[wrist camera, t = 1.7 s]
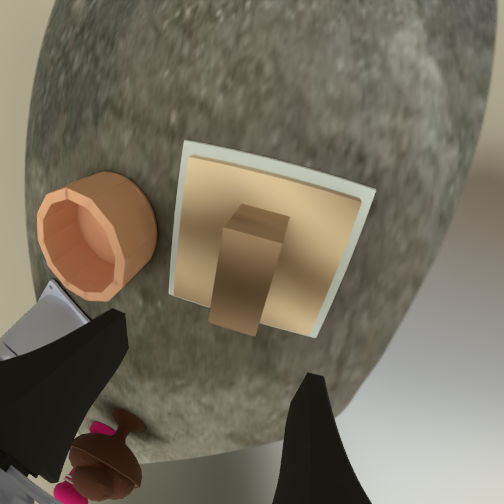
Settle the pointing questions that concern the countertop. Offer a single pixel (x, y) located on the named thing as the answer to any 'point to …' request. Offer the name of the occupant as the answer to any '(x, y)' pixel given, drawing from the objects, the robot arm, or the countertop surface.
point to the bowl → (97, 234)
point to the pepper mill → (66, 490)
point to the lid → (259, 245)
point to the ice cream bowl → (106, 461)
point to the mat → (286, 170)
